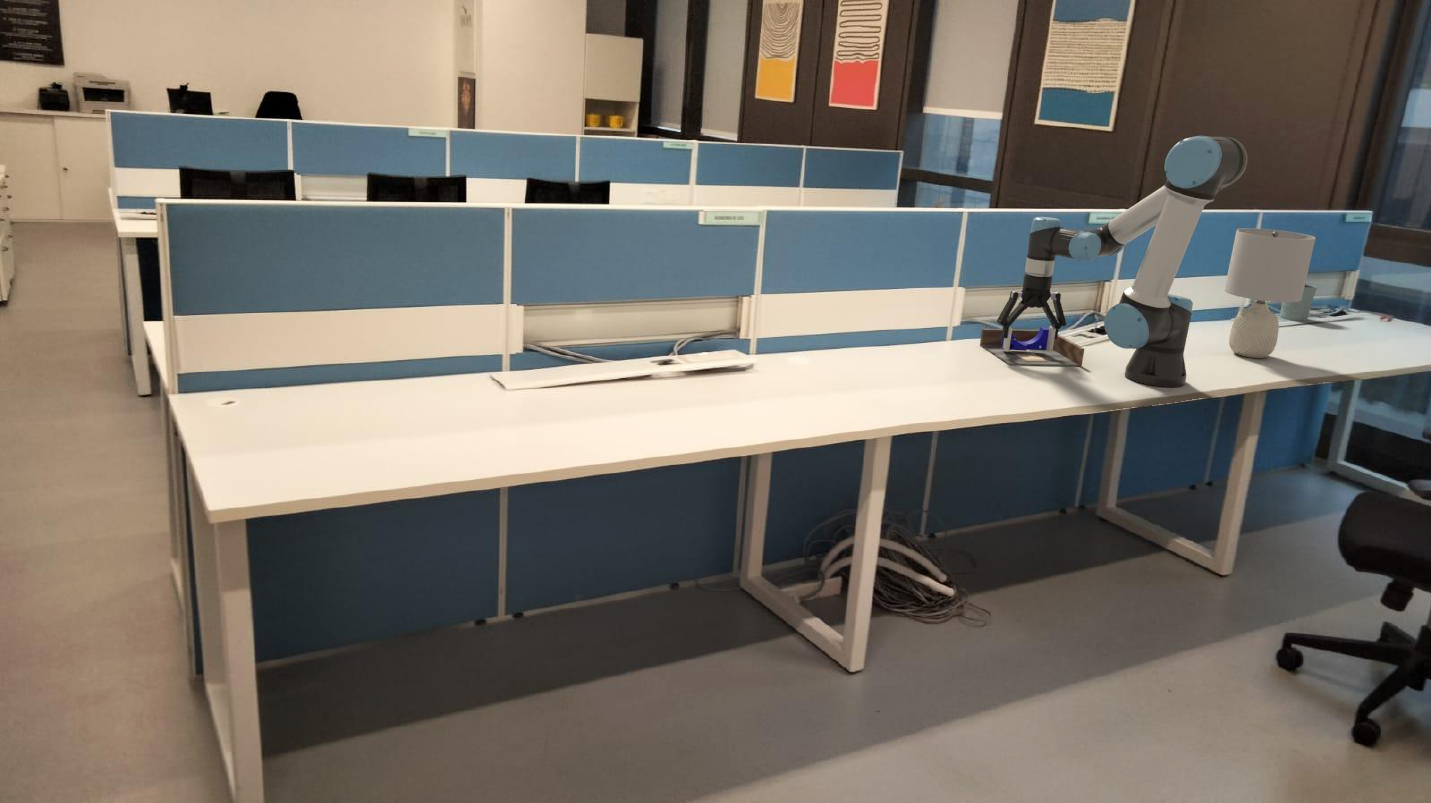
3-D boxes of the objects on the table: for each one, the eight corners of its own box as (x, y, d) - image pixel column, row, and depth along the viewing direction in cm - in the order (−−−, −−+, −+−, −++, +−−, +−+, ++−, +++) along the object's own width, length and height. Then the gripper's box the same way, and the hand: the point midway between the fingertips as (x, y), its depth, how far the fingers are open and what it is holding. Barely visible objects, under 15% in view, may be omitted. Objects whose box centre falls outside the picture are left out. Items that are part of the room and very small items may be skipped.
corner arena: (1081, 366, 288) (1084, 348, 286) (1008, 365, 285) (1011, 347, 283) (1048, 346, 308) (1050, 330, 306) (979, 345, 305) (982, 328, 303)
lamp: (1269, 367, 297) (1297, 239, 286) (1199, 351, 312) (1224, 228, 301) (1299, 358, 310) (1327, 234, 299) (1231, 343, 324) (1256, 224, 313)
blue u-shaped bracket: (1005, 349, 294) (1008, 329, 292) (1001, 345, 298) (1003, 325, 296) (1047, 351, 294) (1050, 331, 293) (1042, 347, 299) (1045, 327, 297)
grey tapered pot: (1279, 319, 364) (1287, 285, 361) (1274, 313, 373) (1282, 280, 370) (1312, 322, 361) (1320, 288, 358) (1306, 317, 370) (1313, 283, 367)
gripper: (1073, 272, 293) (1062, 346, 299) (991, 270, 289) (981, 345, 296) (1086, 277, 286) (1074, 353, 292) (1002, 275, 282) (991, 352, 289)
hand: (1027, 349), depth 294 cm, fingers closed on blue u-shaped bracket, 12 cm apart
